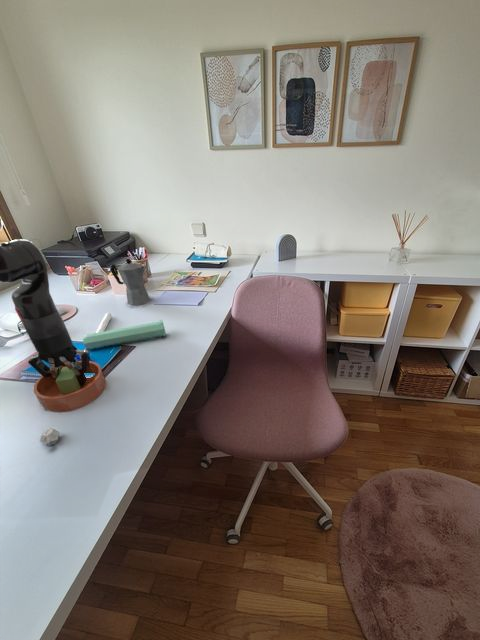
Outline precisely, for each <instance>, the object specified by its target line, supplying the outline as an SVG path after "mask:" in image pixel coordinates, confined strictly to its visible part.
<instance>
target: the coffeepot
mask: <svg viewBox="0 0 480 640" xmlns="http://www.w3.org/2000/svg"><path fill="white" fill-rule="evenodd" d="M125 262H126V263H123V264H117V263H116V264H114V263H113V264H111V266H110V267H109V271H110V272H111V274H112V276H113V277H114V279H115V281H116V282H117V283H118V285H125V287H126V288H125V290H126V291H125V293H126V299H127V300H126V302H127V304H128V305H130V306H142V305H146V304H147V303H148V302H150V296H149V293H148V291H147V289H146V286H145V284H144V276H143V275H144V272H145V270H146V269H147V267H146V266H144V265H143V264H142V263H139V262H131V259H130V258H126V259H125ZM116 270H117V271H118V273H119V276H120V277H119V276H118V274H117V272H116ZM120 278H121V279H120ZM121 280H122V281H121Z"/></svg>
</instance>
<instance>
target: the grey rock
mask: <svg viewBox="0 0 480 640" xmlns="http://www.w3.org/2000/svg"><path fill="white" fill-rule="evenodd" d="M59 435H60V431H58V430H56V429H55V428H52V427H49V428H47V429H44V430H42V432H41V436H40V441H39V442H40V443H41V444H44V445H45V446H53V445H54V444H57V443H58V440H59Z"/></svg>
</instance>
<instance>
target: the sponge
mask: <svg viewBox="0 0 480 640" xmlns="http://www.w3.org/2000/svg"><path fill="white" fill-rule="evenodd" d="M56 383H57V385H58V387H59V389H60V391H61V393H62V394H68V393H74V392H76V391H78V390H80V388H81V386H80V384H79V382H78V380H77V378H76V375H75V373H74V372H73V371H72V370H69V368H68V367H63V368H62V370H61V372H60V374H59V375H58V377H57V379H56Z"/></svg>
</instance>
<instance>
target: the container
mask: <svg viewBox="0 0 480 640" xmlns="http://www.w3.org/2000/svg"><path fill="white" fill-rule="evenodd" d="M166 334H167V333H166V330H165V325H164V321H163V319H159V321H154V322H148V323H144V324H143V323H142V324H137V325H133V326H127V327H121V328H115V329H111V330H105V331H104V332H98V333H96V332H93V333H88V334H85V335H84V336H83V338H82V341H83V345H84V349H86V348H87V349H89V350H90V351H91V350H94V349H93V348H96V349H99V348H98V347H101V348H100V349H102V348H106V347H110V346H109V345H112V347H113V346H117V345H123V344H128V343H133V342H138V341H145V340H149V339H154V338H159V337H163V338H166V337H167V335H166ZM104 346H106V347H104ZM96 349H95V350H96Z"/></svg>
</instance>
